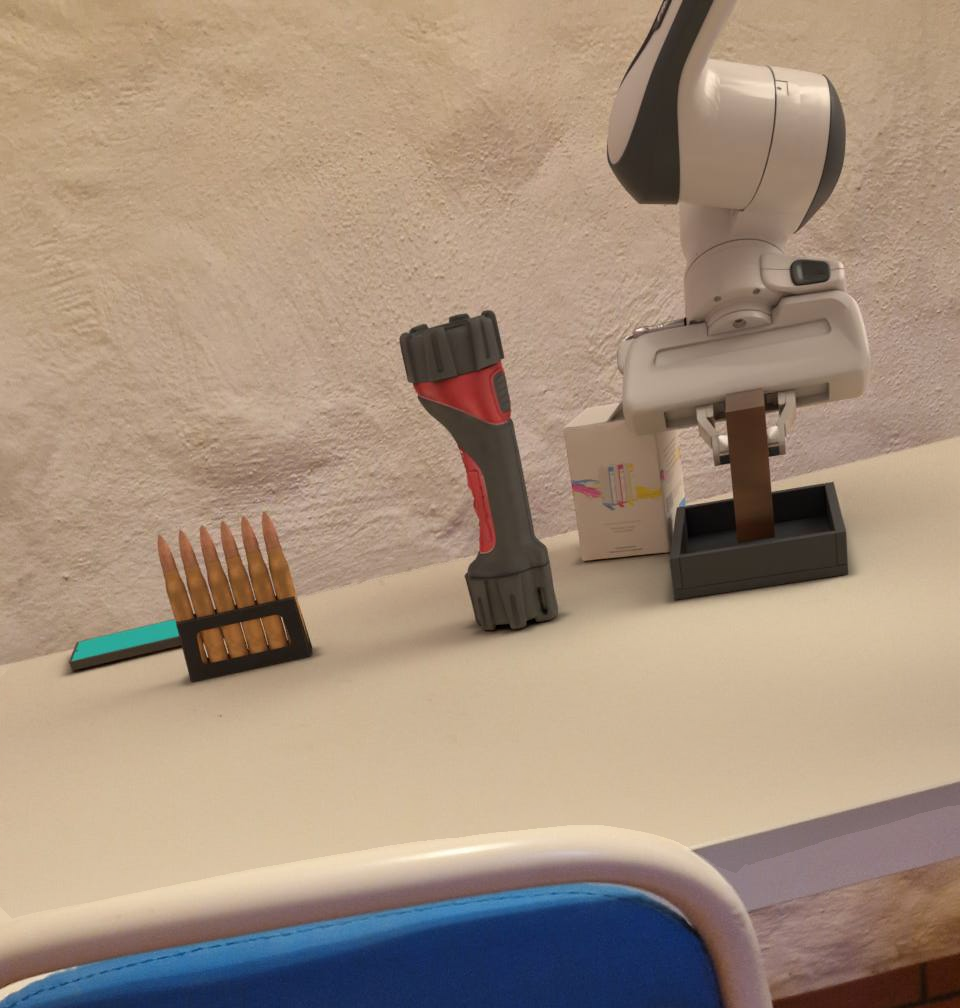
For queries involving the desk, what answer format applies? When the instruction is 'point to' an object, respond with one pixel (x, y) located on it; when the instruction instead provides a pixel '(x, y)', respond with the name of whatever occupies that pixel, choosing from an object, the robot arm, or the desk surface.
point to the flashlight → (484, 464)
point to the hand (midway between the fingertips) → (750, 456)
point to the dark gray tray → (758, 544)
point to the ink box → (622, 484)
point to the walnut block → (749, 465)
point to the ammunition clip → (227, 611)
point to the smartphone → (125, 644)
